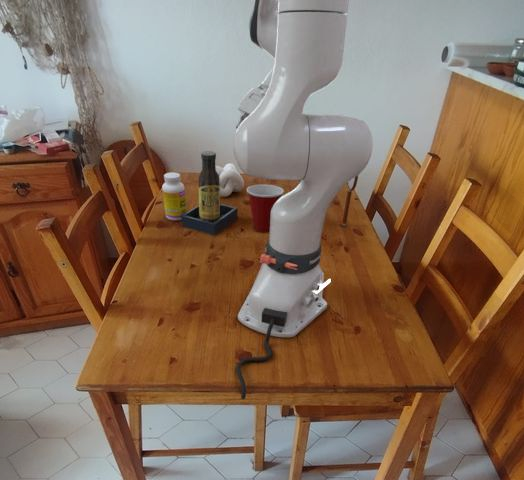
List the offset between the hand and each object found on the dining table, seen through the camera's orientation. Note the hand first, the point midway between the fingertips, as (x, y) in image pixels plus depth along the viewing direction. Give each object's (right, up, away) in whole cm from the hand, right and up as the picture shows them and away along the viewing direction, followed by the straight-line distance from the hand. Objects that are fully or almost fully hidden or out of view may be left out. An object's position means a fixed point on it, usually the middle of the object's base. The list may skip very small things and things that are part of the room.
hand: (245, 133), depth 117 cm
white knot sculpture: (-9, -6, +29) cm, 30 cm away
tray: (-11, -22, +11) cm, 27 cm away
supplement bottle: (-22, -19, +13) cm, 33 cm away
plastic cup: (+5, -24, +10) cm, 26 cm away
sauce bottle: (-11, -21, +11) cm, 27 cm away
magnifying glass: (+30, -23, +12) cm, 40 cm away
